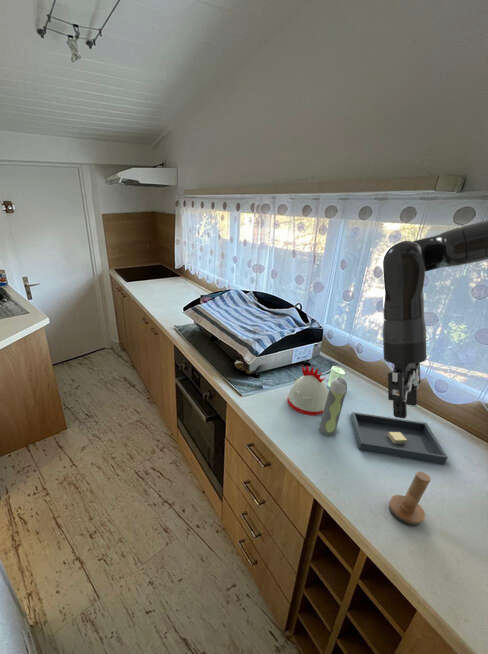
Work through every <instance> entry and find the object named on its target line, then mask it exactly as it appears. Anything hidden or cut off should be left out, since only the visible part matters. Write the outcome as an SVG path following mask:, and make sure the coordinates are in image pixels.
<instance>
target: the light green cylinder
mask: <svg viewBox="0 0 488 654" xmlns="http://www.w3.org/2000/svg"><path fill="white" fill-rule="evenodd" d="M345 375H346V371H345V370H344V369H342V368H341V367H339V366H336V365H332V366H331V369H330V373H329V377H328V382H327V387H328V388H330V387H331V383H332V380H333V379H335V378H339V377H340V378H343V379H344V380H345Z"/></svg>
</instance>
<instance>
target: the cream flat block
mask: <svg viewBox="0 0 488 654" xmlns="http://www.w3.org/2000/svg"><path fill="white" fill-rule="evenodd" d="M388 437H389V438H390V439H391V441H392V442H393V443H394V444H406V442H407V439H406V438H405V437H404V436H403V435H402V434H401V432H389V433H388Z"/></svg>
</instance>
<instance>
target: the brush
mask: <svg viewBox="0 0 488 654" xmlns="http://www.w3.org/2000/svg"><path fill="white" fill-rule="evenodd" d="M431 480H432V479H431V476H430V475H429V474H427V473H426V472H424V471H417V472H416V473H415V475H414V477H413V478H412V480H411V483H410V485H409V487H408V489H407V491H406V493H405V495H402V494H396V495H393V496H391V498H390V500H389V504H388V511H389V513H390V515H391V516H392V517H393V518H394V519H395V520H396V521H398V522H399V523H401V524H402V525H404V526H408V527H411V528H413V527H418V526H420V525H421V524H422V523H423V522H424V520H425V518H426V513H425V510H424V509H423V507H422V506H421V505H420V504H419V503H420V501H421V499H422V497H423V495H424V493H425V492H426V490H427V488H428V486H429V484H430V483H431Z"/></svg>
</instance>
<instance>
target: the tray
mask: <svg viewBox="0 0 488 654" xmlns="http://www.w3.org/2000/svg"><path fill="white" fill-rule="evenodd" d="M349 420H350V423H351V426H352V427H351V428H352V430H353V434H354V436H355V440H356V444H357V447H358V450H359V451H363V452H369V453H375V454H381V455H387V456H392V457H397V458H398V457H399V458H403V459H404V458H405V459H410V460H416V461H420V462H427V463H433V464H439V465H445V463H446V462H447V460H448V456H447V453H445V451H444V449H443V448H442V446H441V445H440V443H439V441H438V439H437V438H436V436H435V435H434V433H433V431H432V429H431V428H430V426H429V425H428V423H427V422H422V421H415V420H409V419H403V418H397V417H389V416H382V415H375V414H368V413H361V412H354V411H351V413H350V417H349ZM389 432H401V434H402V435H403V436H404V437H405V438H406V439H407V442H406V444H394V443H393V442H392V441H391V439H390V438H389V437H388V433H389Z"/></svg>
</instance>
